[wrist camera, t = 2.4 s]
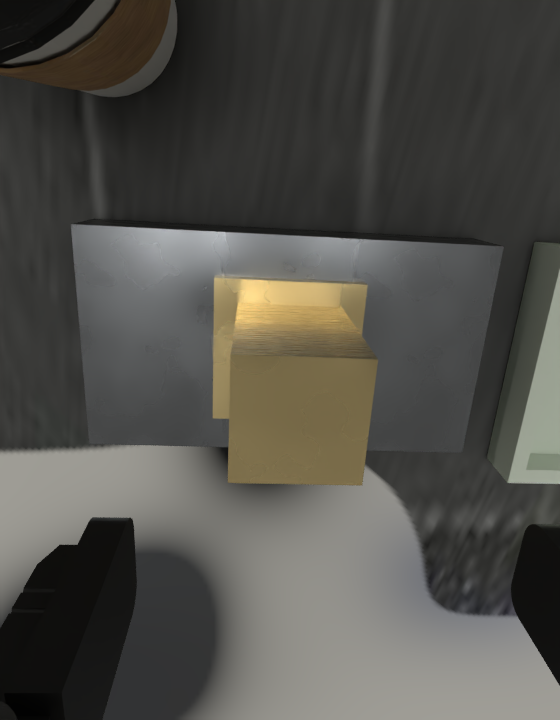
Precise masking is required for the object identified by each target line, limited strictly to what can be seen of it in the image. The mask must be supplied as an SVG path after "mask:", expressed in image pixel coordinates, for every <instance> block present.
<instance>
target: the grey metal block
mask: <svg viewBox="0 0 560 720" xmlns="http://www.w3.org/2000/svg"><path fill="white" fill-rule="evenodd" d="M71 232H72V244H73V256H74V268H75V280H76V291H77V303H78V315H79V327H80V339H81V351H82V363H83V375H84V387H85V398H86V410H87V422H88V434H89V444H121V445H162V446H163V445H164V446H204V447H205V446H207V447H208V446H209V447H229V419H217V418H213V338H214V277H215V275H217V276H239V277H261V278H282V279H304V280H326V281H348V282H365V283H366V284H367V285H368V287H367V295H366V304H365V313H364V322H363V330H362V337H363V338H364V340H365V341H366V343H367V344H368V346H369V347H370V349H371V350H372V351H373V353H374V354H375V356H376V357H377V359H378V365H377V373H376V380H375V388H374V396H373V404H372V412H371V419H370V427H369V435H368V443H367V450H371V451H413V452H454V453H462V451H463V446H464V441H465V436H466V431H467V426H468V421H469V416H470V411H471V406H472V401H473V397H474V392H475V387H476V382H477V377H478V372H479V367H480V362H481V357H482V352H483V347H484V342H485V337H486V332H487V327H488V322H489V317H490V312H491V307H492V303H493V298H494V293H495V288H496V283H497V278H498V273H499V268H500V263H501V258H502V253H503V248H504V246H500V245H496V244H493V243H489V242H485V241H481V240H477V239H468V238H449V237H429V236H410V235H391V234H372V233H353V232H333V231H314V230H295V229H276V228H257V227H237V226H218V225H199V224H180V223H161V222H141V221H122V220H103V219H91V220H87V221H83V222H78V223H74V224H71Z"/></svg>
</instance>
